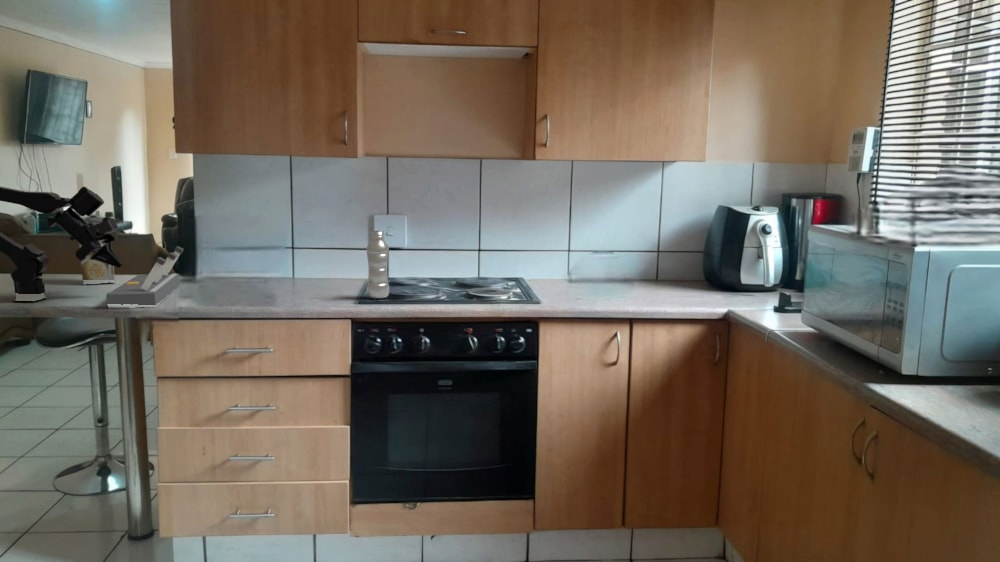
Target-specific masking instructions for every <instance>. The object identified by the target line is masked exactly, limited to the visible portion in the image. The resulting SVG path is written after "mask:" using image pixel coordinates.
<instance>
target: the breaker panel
mask: <svg viewBox="0 0 1000 562" xmlns="http://www.w3.org/2000/svg"><path fill="white" fill-rule="evenodd" d="M148 275H149V274H137V275H135V276H134V277H132V278H131V279H129V280H128V281H126V282H124V283H122V284H121V285H119V286H118V287H116V288H115V289H113V290H111V291H110V292H108V293H107V294H106V295H105V297H106V305H107V304H121V305H123V304H131V305H132V304H138V305H156V304H157V303H159V302H160V301H161V300H163V299H164V298H165V297H166V296H167V295H169V294H170V293H171V292H172V291H173V290H174V289H176V288H177V287H178V286H179V285H180V286H181V282H180V281H181V280H180V273H168V275H167V276H164V275H163V276H162V277H161V279H160V280H159V282H157V283H155V282H154V281H153V282H152V284H151V286H150V287H149V289H148V290H147V291H146V290H144V289H142V288H141V287H142V285H143V283H144V282H145V280H146V278H147V277H148ZM178 288H179V287H178ZM178 288H177V289H178ZM177 289H176V290H177ZM170 295H171V294H170ZM170 295H169V296H170Z"/></svg>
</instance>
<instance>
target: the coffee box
mask: <svg viewBox="0 0 1000 562" xmlns="http://www.w3.org/2000/svg"><path fill="white" fill-rule="evenodd" d="M78 245H79V246H78V249H79V248H80V247H81V245H80V244H79V243H78ZM92 256H93V254H92V252H91V253H90V254H89V255H88V256H86V259H85V260H83V261H80V266H81V277H82V281H83V280H114V279H115V280H116V275H115V266H112V265H109V264H107V263H104V262H100V261H97V260H94V259H90V258H91V257H92Z"/></svg>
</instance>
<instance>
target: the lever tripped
mask: <svg viewBox="0 0 1000 562" xmlns="http://www.w3.org/2000/svg"><path fill="white" fill-rule="evenodd" d="M176 257H177V255H176V254H174V252H172V251H171V252H169V253H168V254H167V256H166V259H165V260H167V261H166V263H165V264H164V265H163V266H162V267H161V269H160V271H159V272H158V274H157V276H156V277H155V279H154V282H155V283H157V282H159V280H160V279H161V277H162V276H163V274H164V273H165V272H166V270H167V269H168V267H169V266H170V264H171V263H172V262H173V260H175V259H176Z"/></svg>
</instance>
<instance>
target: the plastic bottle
mask: <svg viewBox="0 0 1000 562" xmlns="http://www.w3.org/2000/svg"><path fill="white" fill-rule="evenodd" d="M370 238H371V239H370V241H369V243H368V245H367V246H366V249H365V250H366V257H367V267H368V276H367V277H368V278H367V283H366V295H367V297H368V298H371V299H375V300H380V299H384V298H387V297H389V295H390V285H389V281H388V261H389V256H390V255H389V252H390V247H389V245H388V243H387V242H386V241H385V239H384V238H385V235H384V230H371V231H370Z"/></svg>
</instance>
